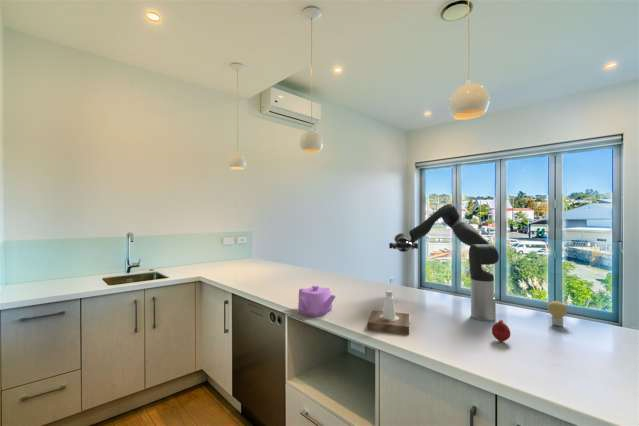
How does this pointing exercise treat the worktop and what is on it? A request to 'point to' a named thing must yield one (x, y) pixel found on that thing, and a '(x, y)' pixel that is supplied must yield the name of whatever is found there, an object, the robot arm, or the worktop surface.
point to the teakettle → (315, 301)
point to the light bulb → (557, 312)
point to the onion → (501, 331)
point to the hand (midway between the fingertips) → (403, 247)
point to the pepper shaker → (389, 306)
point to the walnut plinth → (389, 323)
